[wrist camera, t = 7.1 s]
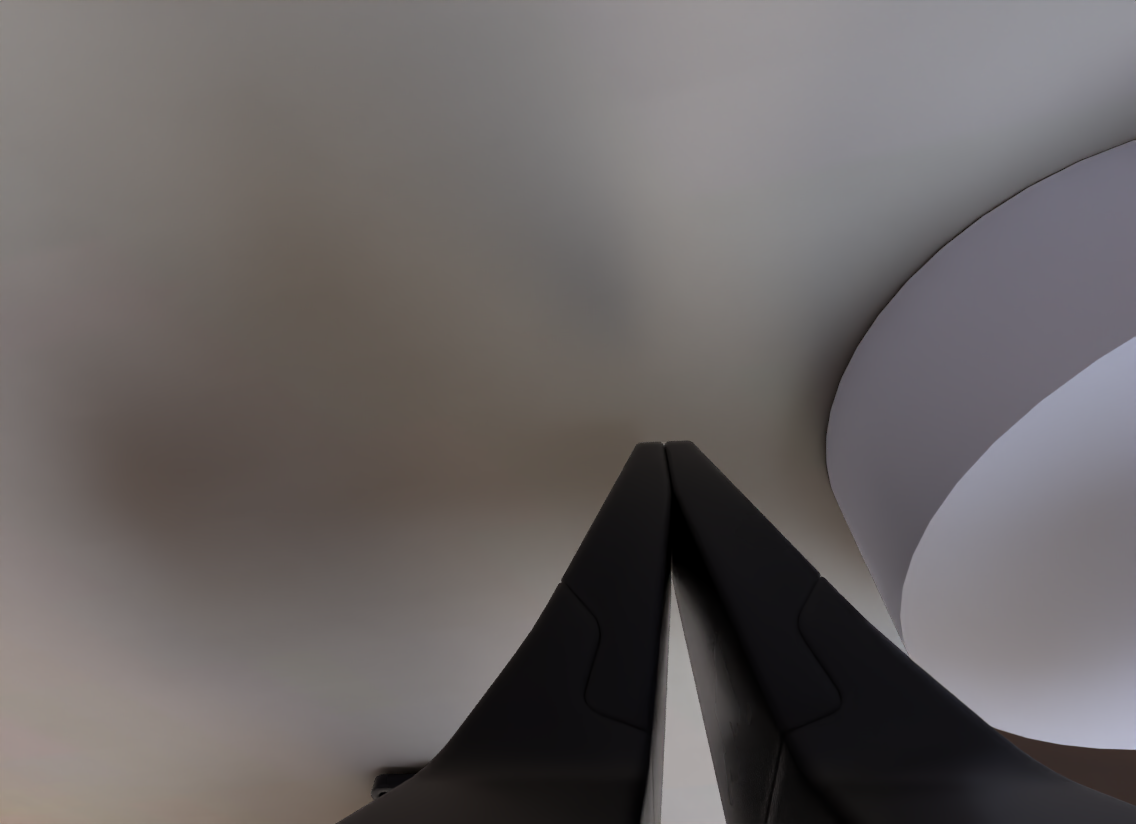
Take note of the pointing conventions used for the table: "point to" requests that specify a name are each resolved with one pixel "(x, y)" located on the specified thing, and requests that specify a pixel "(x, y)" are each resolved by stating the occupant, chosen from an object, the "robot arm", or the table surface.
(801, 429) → the table surface
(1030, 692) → the wedge on round base
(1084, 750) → the bay
